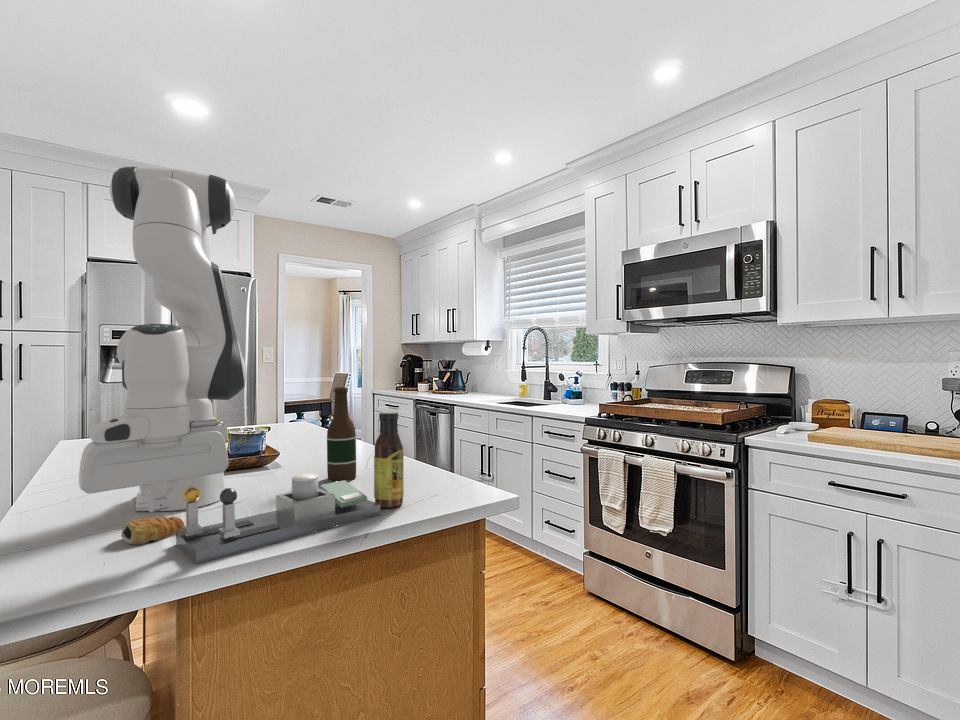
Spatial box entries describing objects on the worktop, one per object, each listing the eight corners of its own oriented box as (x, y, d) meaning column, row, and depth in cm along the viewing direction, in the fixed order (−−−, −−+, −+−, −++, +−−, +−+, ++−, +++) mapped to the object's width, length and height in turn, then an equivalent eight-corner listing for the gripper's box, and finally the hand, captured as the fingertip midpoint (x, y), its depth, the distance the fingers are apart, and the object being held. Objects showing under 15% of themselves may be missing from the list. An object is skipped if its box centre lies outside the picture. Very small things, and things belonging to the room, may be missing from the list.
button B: (287, 499, 96) (287, 476, 96) (311, 494, 99) (311, 472, 99) (298, 504, 93) (298, 481, 93) (323, 499, 96) (322, 476, 96)
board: (176, 544, 86) (175, 512, 86) (350, 502, 109) (350, 477, 109) (196, 564, 78) (195, 528, 78) (380, 514, 101) (380, 487, 101)
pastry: (175, 526, 96) (175, 506, 96) (191, 533, 92) (191, 512, 92) (117, 540, 89) (117, 519, 89) (132, 549, 85) (132, 527, 85)
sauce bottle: (397, 510, 104) (396, 414, 104) (369, 508, 105) (368, 414, 105) (408, 501, 110) (407, 411, 110) (381, 499, 111) (380, 410, 111)
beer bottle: (321, 481, 129) (319, 388, 128) (334, 474, 136) (333, 386, 136) (349, 482, 127) (348, 388, 127) (362, 475, 135) (360, 386, 135)
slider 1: (180, 531, 84) (180, 486, 84) (198, 528, 86) (197, 484, 86) (186, 536, 82) (185, 490, 82) (203, 532, 84) (203, 487, 84)
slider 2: (217, 533, 83) (216, 488, 83) (233, 529, 85) (233, 485, 85) (223, 538, 81) (223, 491, 81) (240, 534, 83) (239, 488, 83)
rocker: (319, 489, 103) (320, 483, 103) (344, 484, 107) (344, 478, 107) (341, 507, 97) (342, 501, 96) (366, 501, 101) (367, 495, 100)
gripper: (221, 416, 90) (222, 493, 90) (76, 428, 76) (77, 519, 76) (233, 419, 86) (234, 500, 86) (81, 433, 72) (83, 529, 72)
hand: (159, 509), depth 81 cm, fingers closed
